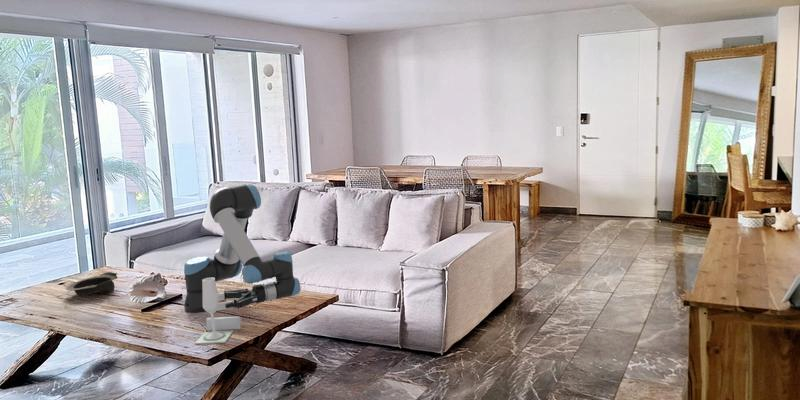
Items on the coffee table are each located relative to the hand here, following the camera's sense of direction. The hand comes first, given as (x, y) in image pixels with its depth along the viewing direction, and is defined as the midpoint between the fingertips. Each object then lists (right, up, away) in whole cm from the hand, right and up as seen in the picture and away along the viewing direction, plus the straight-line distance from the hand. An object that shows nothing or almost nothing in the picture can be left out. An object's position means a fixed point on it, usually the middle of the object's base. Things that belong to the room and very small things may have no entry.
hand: (212, 303), depth 245 cm
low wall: (+1, -13, +12) cm, 18 cm away
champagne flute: (0, -14, +2) cm, 14 cm away
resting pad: (0, -15, +2) cm, 15 cm away
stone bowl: (-87, -8, +77) cm, 116 cm away
